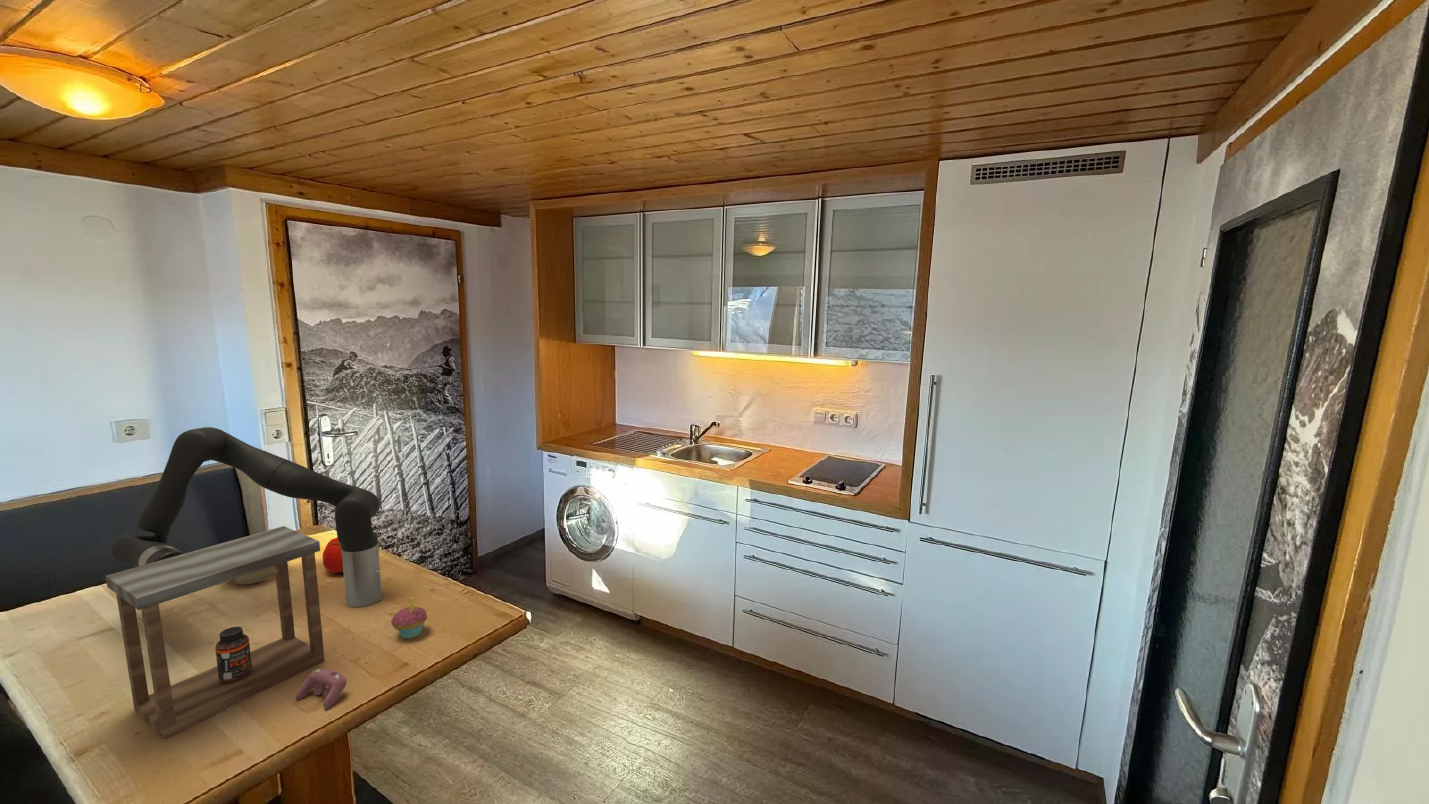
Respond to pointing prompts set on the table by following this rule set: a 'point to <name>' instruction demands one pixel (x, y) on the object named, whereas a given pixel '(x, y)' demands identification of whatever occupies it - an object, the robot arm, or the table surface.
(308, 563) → the under-counter shelf
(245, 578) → the planter bowl
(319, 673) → the video game controller
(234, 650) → the supplement bottle
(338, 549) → the tomato
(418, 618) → the cupcake
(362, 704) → the table surface
